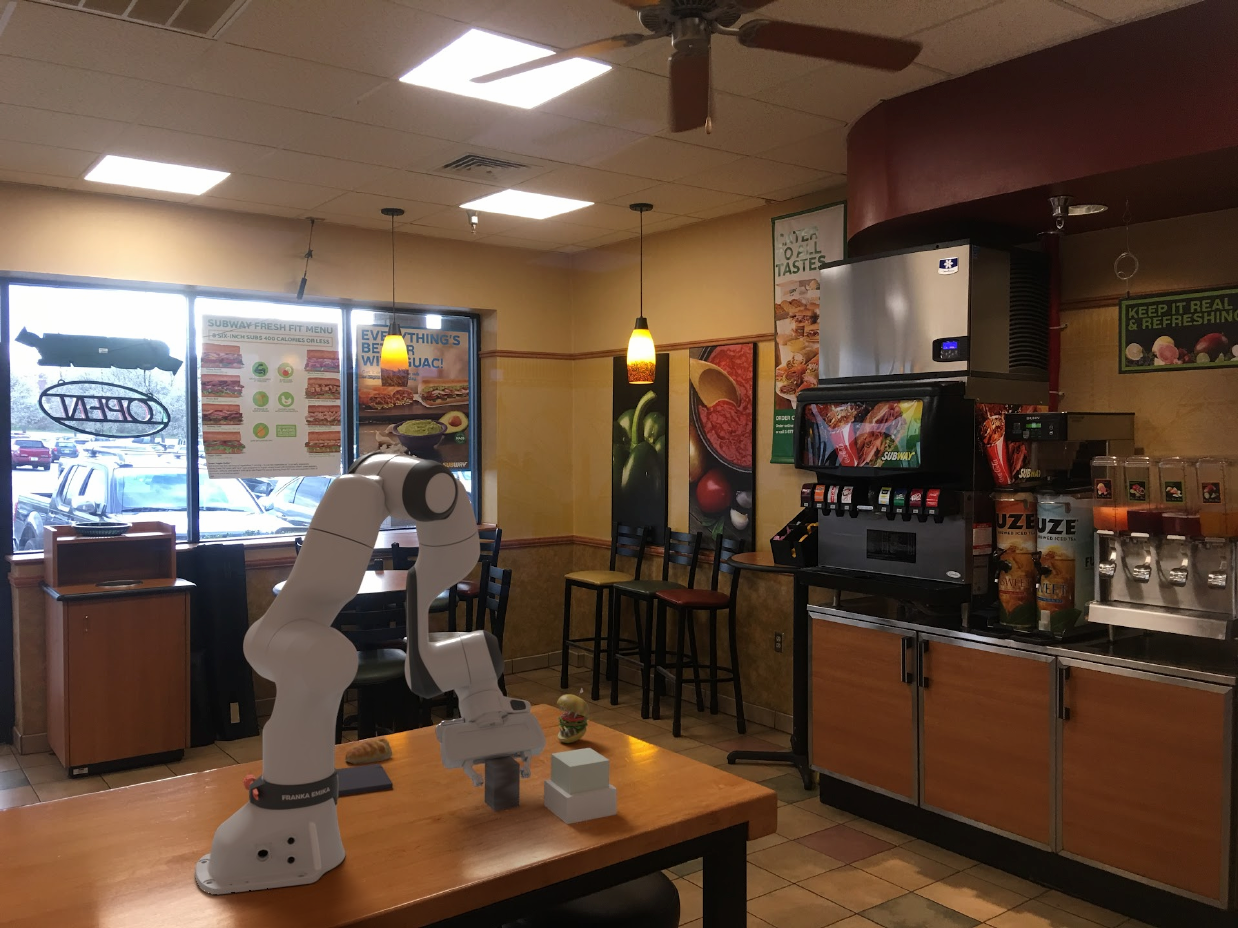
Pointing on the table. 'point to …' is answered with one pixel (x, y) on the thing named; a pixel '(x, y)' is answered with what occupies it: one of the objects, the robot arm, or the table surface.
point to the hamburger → (572, 718)
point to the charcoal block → (502, 783)
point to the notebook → (362, 779)
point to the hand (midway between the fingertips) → (503, 780)
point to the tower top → (579, 770)
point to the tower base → (580, 803)
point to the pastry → (370, 752)
